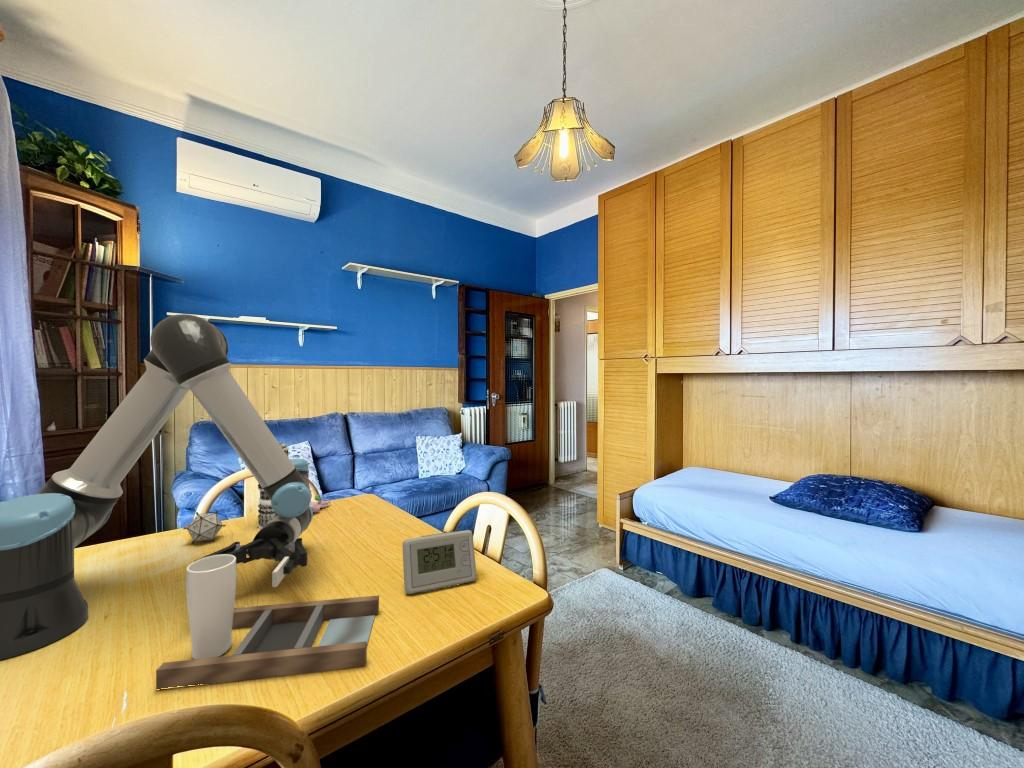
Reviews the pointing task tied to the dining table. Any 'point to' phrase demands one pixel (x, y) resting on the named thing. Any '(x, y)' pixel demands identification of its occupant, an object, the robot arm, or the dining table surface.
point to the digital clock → (438, 561)
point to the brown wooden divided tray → (334, 652)
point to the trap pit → (281, 634)
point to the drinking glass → (211, 604)
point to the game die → (204, 527)
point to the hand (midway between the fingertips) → (232, 583)
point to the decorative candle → (267, 502)
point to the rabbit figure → (318, 504)
